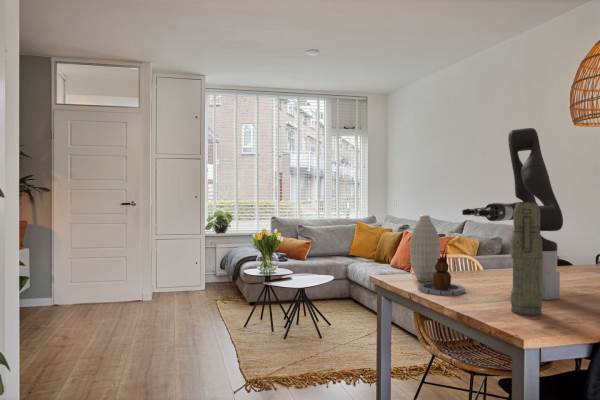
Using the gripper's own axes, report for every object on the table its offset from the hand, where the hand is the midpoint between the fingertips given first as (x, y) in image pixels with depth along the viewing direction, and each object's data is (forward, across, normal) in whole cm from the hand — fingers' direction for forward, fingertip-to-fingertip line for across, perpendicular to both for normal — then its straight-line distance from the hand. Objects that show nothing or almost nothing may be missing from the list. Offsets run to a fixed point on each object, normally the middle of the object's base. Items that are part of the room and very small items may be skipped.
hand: (471, 212), depth 191 cm
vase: (+6, -20, +30) cm, 37 cm away
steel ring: (+16, 0, +30) cm, 34 cm away
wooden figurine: (+16, 0, +30) cm, 34 cm away
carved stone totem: (+17, +38, +30) cm, 51 cm away
